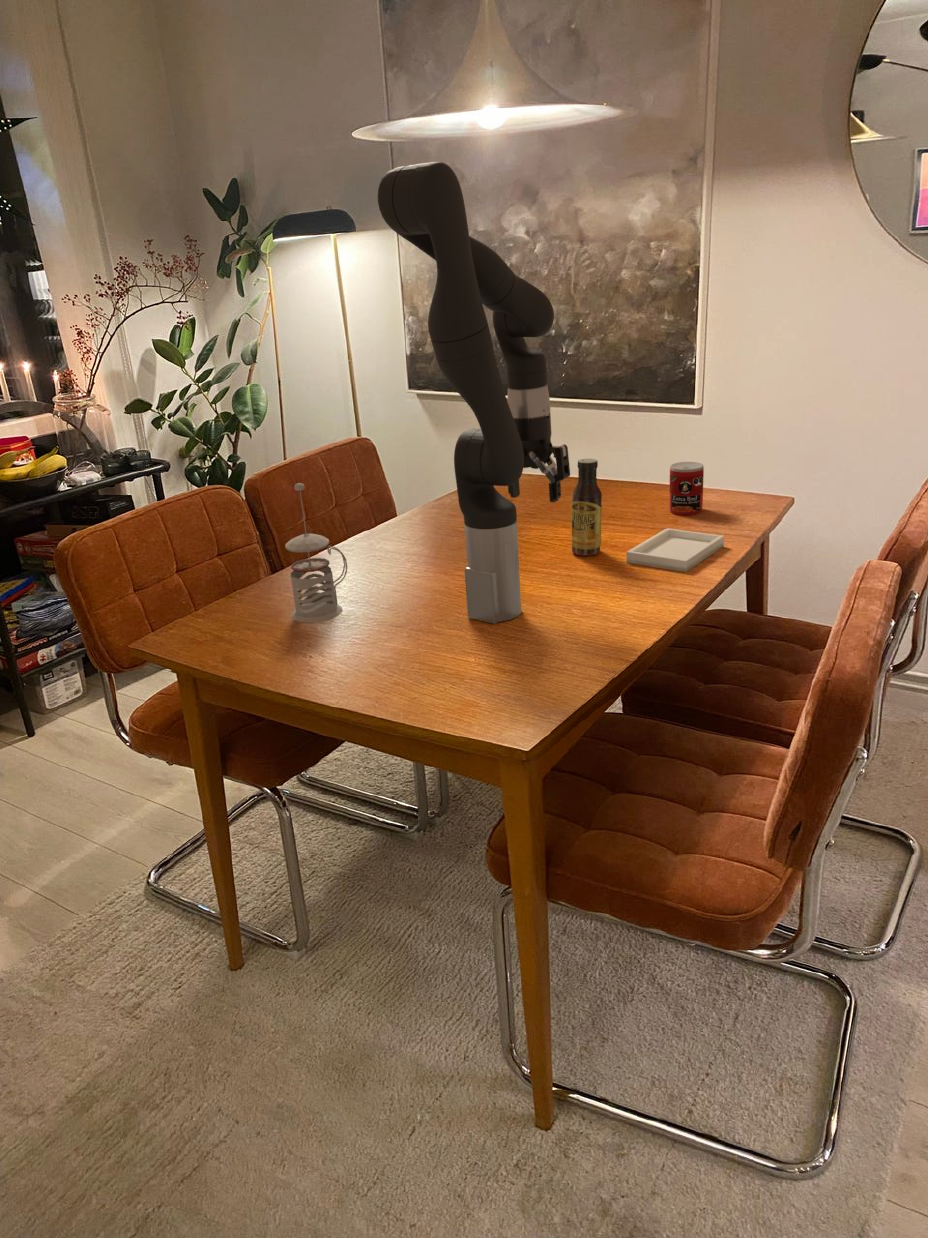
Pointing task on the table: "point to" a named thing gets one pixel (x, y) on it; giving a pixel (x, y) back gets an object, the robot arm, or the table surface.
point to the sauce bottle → (586, 510)
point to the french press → (316, 603)
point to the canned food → (686, 488)
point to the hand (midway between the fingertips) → (534, 498)
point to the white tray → (675, 549)
